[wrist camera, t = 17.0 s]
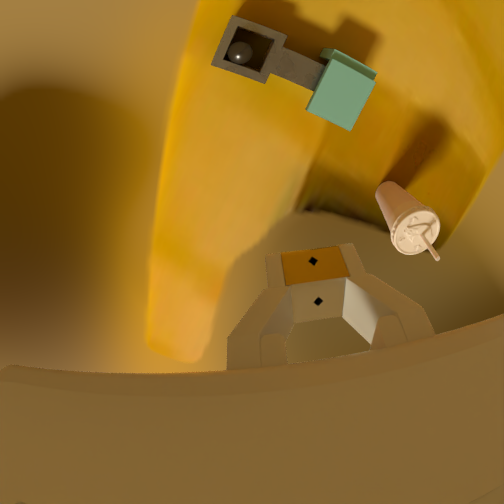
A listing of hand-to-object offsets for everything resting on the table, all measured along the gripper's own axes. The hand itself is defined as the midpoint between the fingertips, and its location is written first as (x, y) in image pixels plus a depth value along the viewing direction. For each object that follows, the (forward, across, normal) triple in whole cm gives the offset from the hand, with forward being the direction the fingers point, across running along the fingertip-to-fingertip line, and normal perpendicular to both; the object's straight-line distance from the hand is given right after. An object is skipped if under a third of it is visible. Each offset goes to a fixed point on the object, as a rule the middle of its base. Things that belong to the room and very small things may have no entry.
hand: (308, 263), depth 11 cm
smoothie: (+27, -16, +14) cm, 34 cm away
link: (+27, -3, -4) cm, 28 cm away
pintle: (+27, +1, -6) cm, 28 cm away
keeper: (+27, -8, -1) cm, 28 cm away
